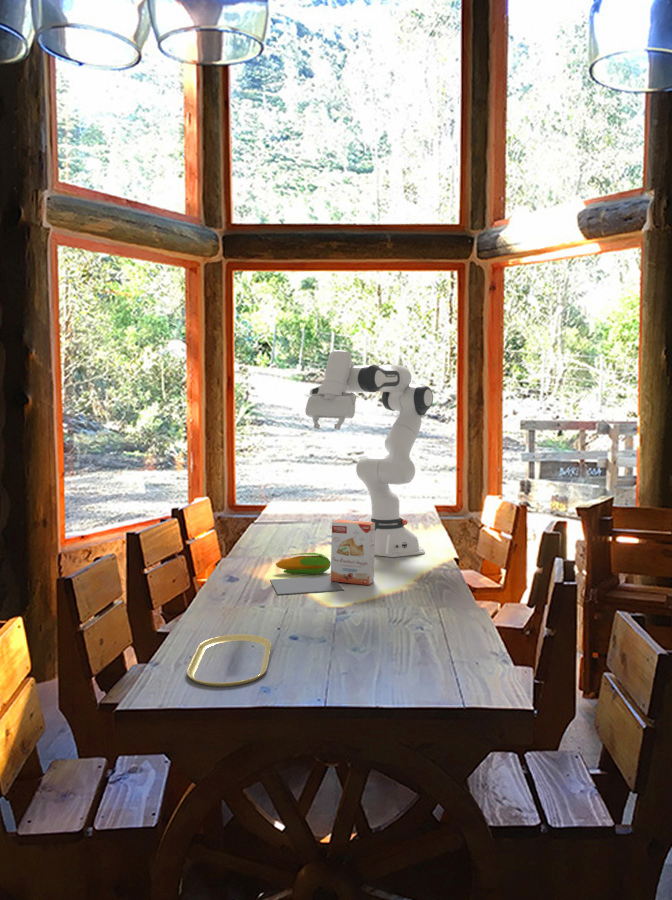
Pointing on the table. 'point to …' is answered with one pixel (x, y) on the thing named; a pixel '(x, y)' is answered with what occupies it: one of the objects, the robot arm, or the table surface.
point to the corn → (305, 564)
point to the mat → (305, 585)
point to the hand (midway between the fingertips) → (326, 429)
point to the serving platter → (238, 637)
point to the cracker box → (352, 551)
